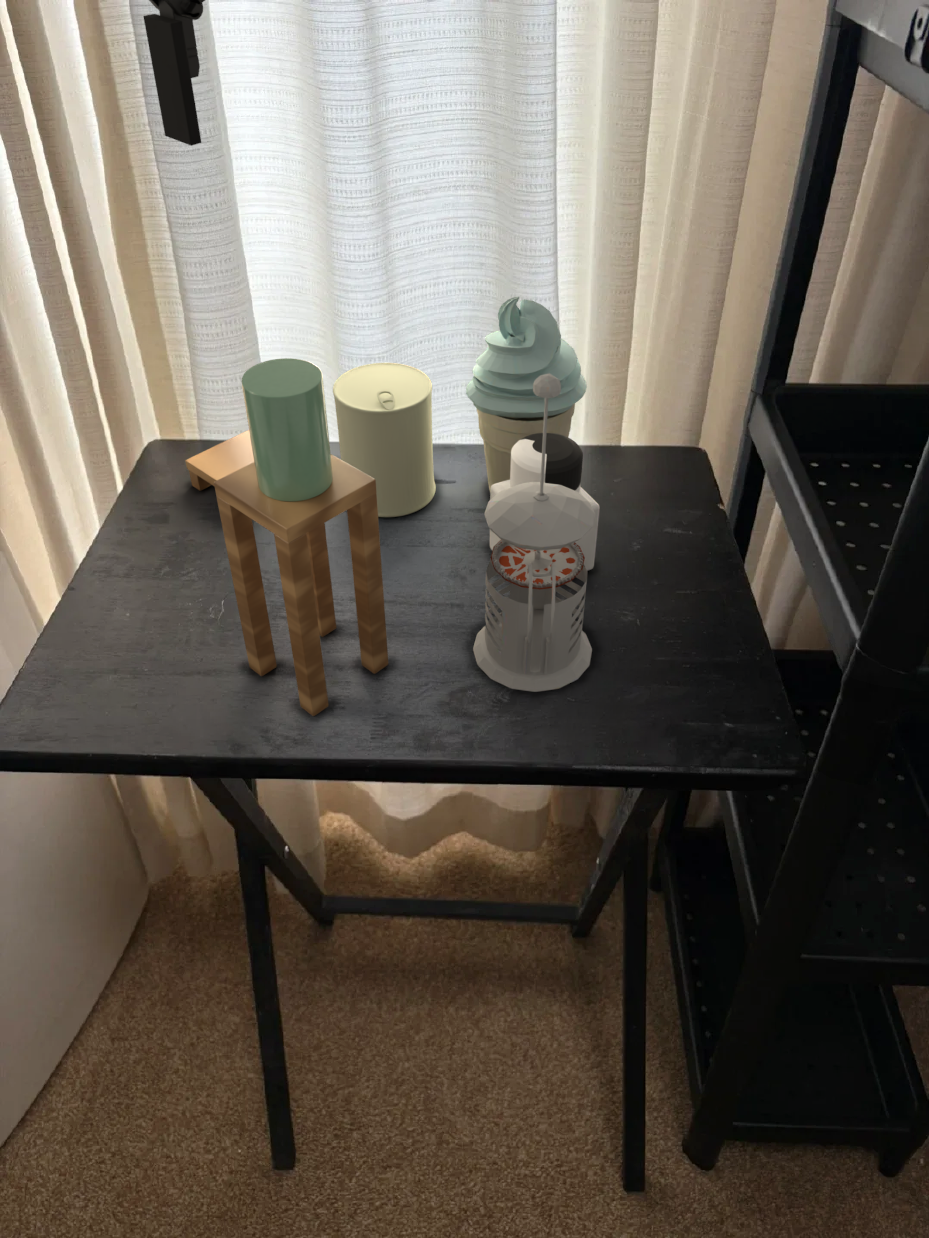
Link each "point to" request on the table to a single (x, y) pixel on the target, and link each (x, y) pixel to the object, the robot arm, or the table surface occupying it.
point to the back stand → (220, 460)
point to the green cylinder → (288, 428)
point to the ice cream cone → (522, 382)
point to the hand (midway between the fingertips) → (84, 168)
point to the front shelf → (305, 571)
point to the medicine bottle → (550, 477)
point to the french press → (536, 581)
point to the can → (388, 432)
